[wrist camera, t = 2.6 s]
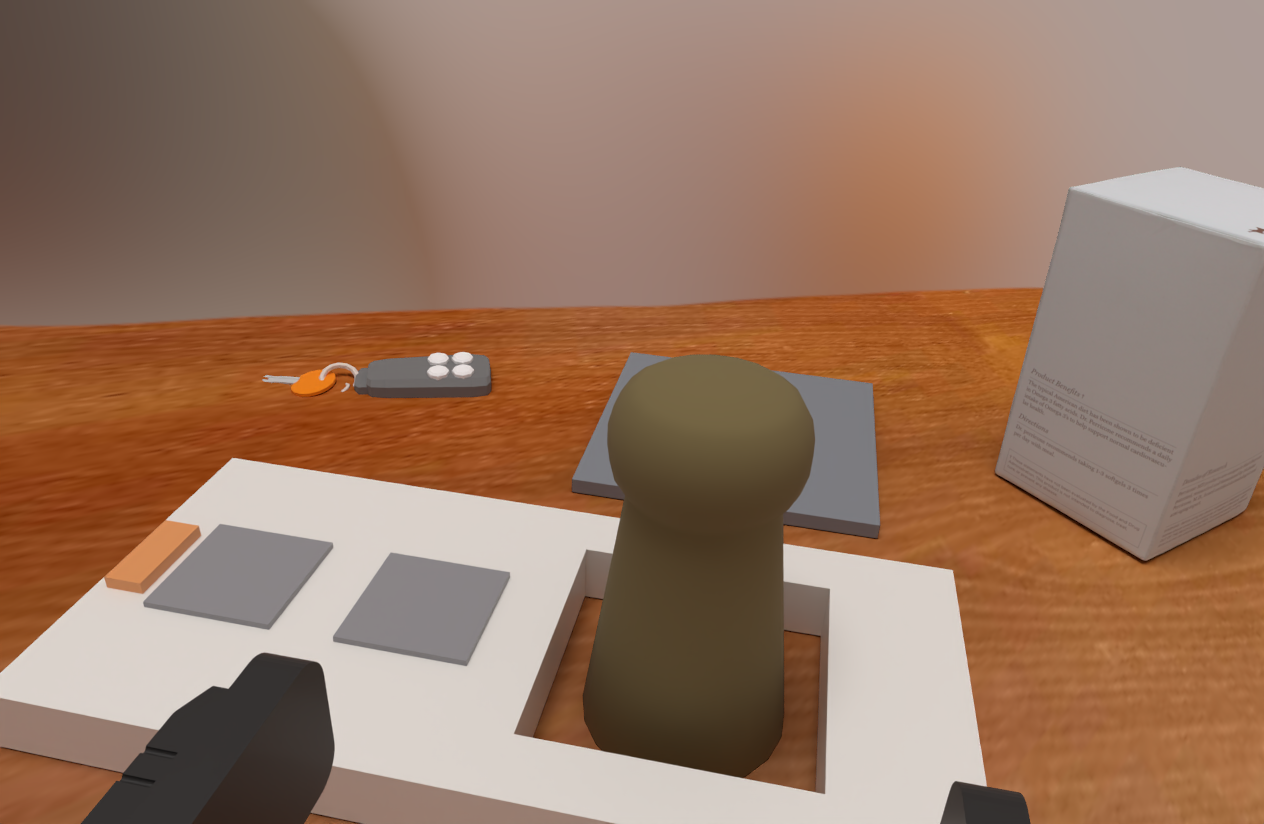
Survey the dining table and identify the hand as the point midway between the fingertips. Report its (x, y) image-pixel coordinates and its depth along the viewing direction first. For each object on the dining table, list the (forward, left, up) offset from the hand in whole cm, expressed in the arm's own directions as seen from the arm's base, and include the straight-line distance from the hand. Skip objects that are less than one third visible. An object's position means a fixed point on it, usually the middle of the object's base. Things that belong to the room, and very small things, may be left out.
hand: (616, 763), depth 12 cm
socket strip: (-5, +12, -12) cm, 18 cm away
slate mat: (0, +28, -12) cm, 31 cm away
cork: (0, +12, -12) cm, 17 cm away
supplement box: (+16, +28, -12) cm, 35 cm away
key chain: (-18, +29, -12) cm, 36 cm away
